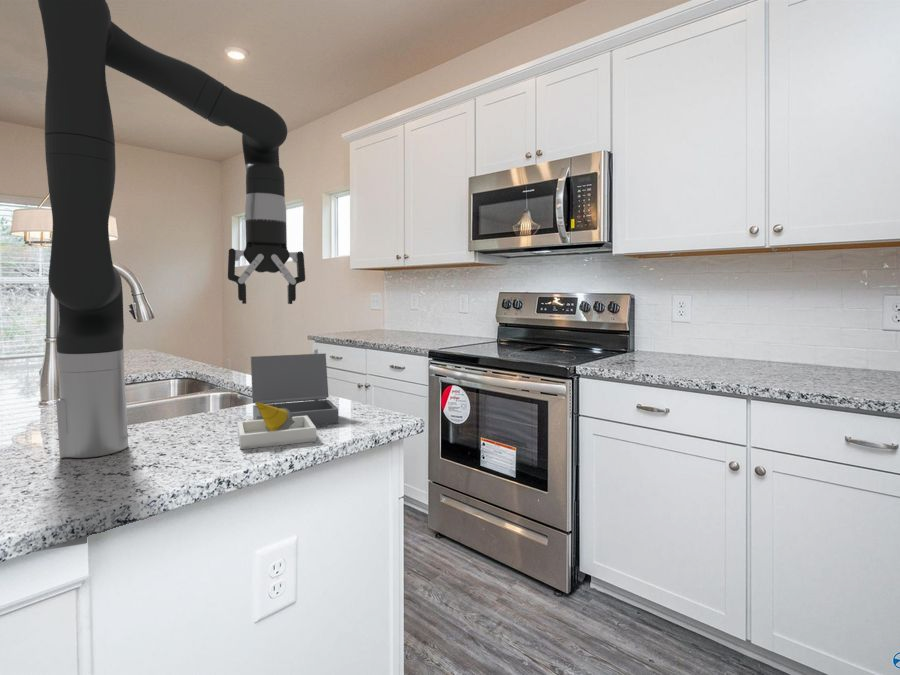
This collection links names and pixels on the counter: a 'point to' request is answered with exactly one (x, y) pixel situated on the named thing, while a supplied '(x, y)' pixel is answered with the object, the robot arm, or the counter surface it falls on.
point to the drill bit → (275, 417)
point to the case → (307, 411)
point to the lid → (289, 378)
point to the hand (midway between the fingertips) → (267, 303)
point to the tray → (275, 433)
